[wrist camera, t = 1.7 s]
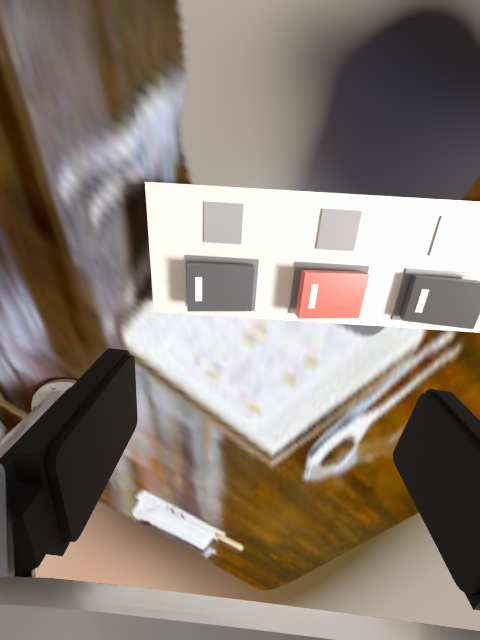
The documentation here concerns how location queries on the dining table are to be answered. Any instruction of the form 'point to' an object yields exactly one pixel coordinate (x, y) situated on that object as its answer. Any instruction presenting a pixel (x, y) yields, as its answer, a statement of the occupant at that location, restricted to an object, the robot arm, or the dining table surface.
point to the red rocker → (331, 294)
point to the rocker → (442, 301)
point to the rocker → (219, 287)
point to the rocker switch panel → (308, 245)
